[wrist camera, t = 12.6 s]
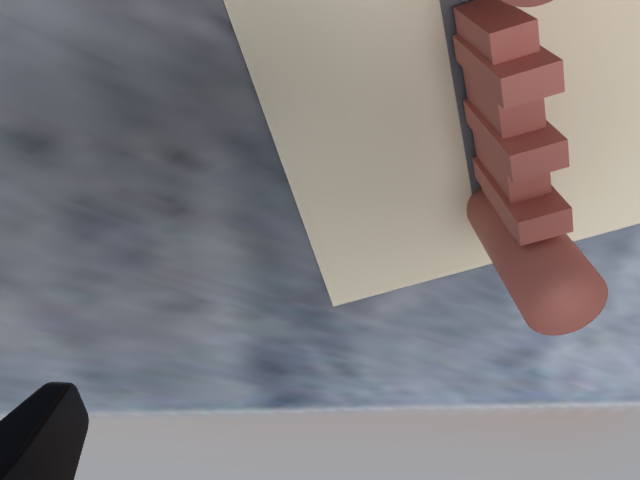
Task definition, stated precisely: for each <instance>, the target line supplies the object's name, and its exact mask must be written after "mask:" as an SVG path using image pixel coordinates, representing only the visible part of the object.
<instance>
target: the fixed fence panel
mask: <svg viewBox="0 0 640 480" xmlns="http://www.w3.org/2000/svg"><path fill="white" fill-rule="evenodd" d="M551 1H553V0H474V1H471V2H468V3H465V4H461V5H458V6H455V7H453V10H454V16H455V23H456V29H457V34H456V35H452V36H453V42H454V48H455V55H456V61H457V62H458V63H459V64H460V65H461V66H462V67H463V74H464V80H465V86H466V93H467V99H465V100H463V104H464V110H465V117H466V123H467V124H468V125H469V127H470V128H471V129H472V131H473V138H474V144H475V150H476V156H475V157H472V160H473V166H474V172H475V178H476V179H477V181H478V182H479V184H480V185H481V186H480V187H479V188H478V189H477V190H476V191H475V192H474V193H473V195H471V197H470V199H469V201H468V204H467V217H468V220H469V222H470V224H471V226H472V227H473V229H474V231H475V233H476V234H477V236H478V238H479V240H480V242H481V243H482V245H483V247H484V249H485V250H486V252H487V254H488V256H489V258H490V259H491V261H492V263H493V265H494V266H495V268H496V270H497V272H498V273H499V275H500V277H501V279H502V281H503V282H504V284H505V286H506V288H507V289H508V291H509V293H510V295H511V297H512V298H513V300H514V302H515V304H516V305H517V307H518V309H519V311H520V313H521V314H522V316H523V318H524V320H525V321H526V323H527V324H528V326H529V327H530V328H532V329H533V330H534V331H536V332H538V333H541V334H545V335H563V334H568V333H571V332H574V331H576V330H579V329H581V328H583V327H584V326H586V325H587V324H589V323H590V322H591V321H593V320H594V319H595V318H596V317H597V316H598V315H599V314H600V312H601V311H602V309H603V308H604V306H605V303H606V301H607V297H608V288H607V285H606V282H605V281H604V279H603V278H602V277H601V276H600V274H599V273H598V272H597V271H596V269H595V268H594V267H593V266H592V265H591V263H590V262H589V261H588V260H587V258H586V257H585V256H584V255H583V253H582V252H581V251H580V250H579V249H578V247H577V246H576V245H575V244H574V242H573V241H572V240H571V239H570V237H569V236H568V235H567V234H566V233H570V232H574V231H573V215H572V207H571V206H570V205H569V204H568V203H567V202H566V201H565V199H564V198H563V197H562V196H561V195H560V194H559V193H558V192H557V190H556V189H555V188H554V187H553V186H552V185H551V175H550V172H553V171H556V170H560V169H563V168H567V167H570V166H569V149H568V139H567V138H566V137H565V136H564V135H562V134H561V133H560V132H559V131H558V130H557V129H556V128H555V127H554V126H552V125H551V124H550V123H549V122H548V121H547V120H546V114H545V102H544V98H545V97H549V96H552V95H556V94H559V93H562V92H565V84H564V68H563V60H562V59H561V58H559V57H558V56H556V55H555V54H553V53H551V52H550V51H548V50H547V49H545V48H544V47H542V46H541V45H540V41H539V29H538V19H537V18H535V17H533V16H531V15H530V14H528V13H526V12H524V11H522V10H520V9H519V8H517V7H535V6H539V5H543V4H546V3H548V2H551ZM515 6H517V7H515Z"/></svg>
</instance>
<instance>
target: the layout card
mask: <svg viewBox="0 0 640 480" xmlns="http://www.w3.org/2000/svg"><path fill="white" fill-rule="evenodd" d="M223 1H224V4H225V7H226V9H227V12H228V15H229V18H230V21H231V23H232V26H233V29H234V32H235V34H236V37H237V40H238V43H239V46H240V48H241V51H242V54H243V57H244V59H245V62H246V65H247V68H248V71H249V73H250V76H251V79H252V82H253V84H254V87H255V90H256V93H257V96H258V98H259V101H260V104H261V107H262V109H263V112H264V115H265V118H266V121H267V123H268V126H269V129H270V132H271V134H272V137H273V140H274V143H275V146H276V148H277V151H278V154H279V157H280V159H281V162H282V165H283V168H284V171H285V173H286V176H287V179H288V182H289V185H290V187H291V190H292V193H293V196H294V198H295V201H296V204H297V207H298V210H299V212H300V215H301V218H302V221H303V223H304V226H305V229H306V232H307V235H308V237H309V240H310V243H311V246H312V248H313V251H314V254H315V257H316V260H317V262H318V265H319V268H320V271H321V273H322V276H323V279H324V282H325V285H326V287H327V290H328V293H329V296H330V298H331V301H332V304H333V307H334V306H337V305H341V304H345V303H349V302H352V301H356V300H360V299H363V298H367V297H371V296H374V295H378V294H382V293H385V292H389V291H393V290H396V289H400V288H404V287H407V286H411V285H415V284H418V283H422V282H426V281H430V280H433V279H437V278H441V277H444V276H448V275H452V274H455V273H459V272H463V271H466V270H470V269H474V268H477V267H481V266H485V265H488V264H492V261H491V259H490V258H489V256H488V254H487V252H486V250H485V249H484V247H483V245H482V243H481V242H480V240H479V238H478V236H477V234H476V233H475V231H474V229H473V227H472V226H471V224H470V222H469V220H468V217H467V204H468V201H469V199H470V197H471V195H473V193H474V192H475V191H476V190H477V189H478V188H479V187H480V186H481V185H480V184H479V182H478V181H477V179H476V178H475V172H474V166H473V160H472V157H475V156H476V150H475V144H474V138H473V131H472V129H471V128H470V127H469V125H468V124H467V123H466V117H465V110H464V104H463V100H465V99H467V93H466V86H465V80H464V74H463V67H462V66H461V65H460V64H459V63H458V62H457V61H456V55H455V48H454V42H453V36H452V35H456V34H457V29H456V23H455V16H454V10H453V7H455V6H458V5H461V4H465V3H468V2H471V1H474V0H223ZM515 7H517V6H515ZM517 8H519V9H520V10H522V11H524V12H526V13H528V14H530V15H531V16H533V17H535V18H537V19H538V29H539V41H540V45H541V46H542V47H544V48H545V49H547V50H548V51H550V52H551V53H553V54H555V55H556V56H558V57H559V58H561V59H562V60H563V68H564V84H565V92H562V93H559V94H556V95H552V96H549V97H545V98H544V102H545V114H546V120H547V121H548V122H549V123H550V124H551V125H552V126H554V127H555V128H556V129H557V130H558V131H559V132H560V133H561V134H562V135H564V136H565V137H566V138H567V139H568V149H569V166H570V167H567V168H563V169H560V170H556V171H553V172H550V175H551V185H552V186H553V187H554V188H555V189H556V190H557V192H558V193H559V194H560V195H561V196H562V197H563V198H564V199H565V201H566V202H567V203H568V204H569V205H570V206H571V207H572V215H573V231H574V232H570V233H566V234H567V235H568V236H569V237H570V239H571V240H572V241H577V240H581V239H584V238H588V237H592V236H595V235H599V234H603V233H606V232H610V231H614V230H617V229H621V228H625V227H628V226H632V225H636V224H639V223H640V0H553V1H551V2H548V3H546V4H543V5H539V6H535V7H517Z"/></svg>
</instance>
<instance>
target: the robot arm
mask: <svg viewBox="0 0 640 480" xmlns="http://www.w3.org/2000/svg"><path fill="white" fill-rule="evenodd" d="M88 423H89V419H88V413H87V411H86V408H85V406H84V404H83V401H82V399H81V396H80V394H79V392H78V389H77V387H76V386H75V385H74V384H72V383H67V382H49V383H47V384H45V385H43V386H42V387H41V388H39V389H38V390H37V391H36V392H34V393H33V394H32V395H31V396H30V397H28V398H27V399H26V400H25V401H24V402H22V403H21V404H20V405H19V406H18V407H16V408H15V409H14V410H13V411H12V412H10V413H9V414H8V415H7V416H6V417H4V418H3V419H2V420H1V421H0V480H74V477H75V473H76V470H77V466H78V462H79V459H80V455H81V451H82V448H83V444H84V441H85V437H86V433H87V430H88Z"/></svg>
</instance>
